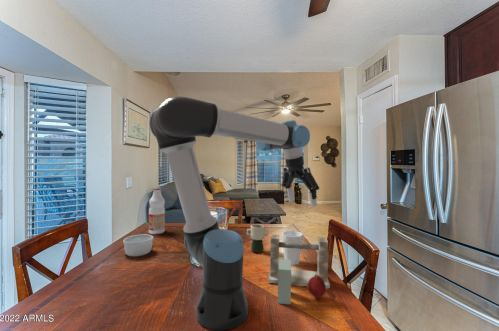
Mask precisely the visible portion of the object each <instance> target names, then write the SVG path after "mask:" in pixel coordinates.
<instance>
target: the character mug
mask: <svg viewBox="0 0 499 331" xmlns="http://www.w3.org/2000/svg"><path fill="white" fill-rule="evenodd" d="M249 232H250V233H249ZM246 235H247V236H250V239H252V241H251V247H250V250H251V251H252V252H253V253H262V252H264V250H265V249H264V241H263V240H264V239H265V237H269V229H266V227H265V224H260V223H253V224H251V225H250V228H247V229H246Z"/></svg>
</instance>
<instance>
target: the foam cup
mask: <svg viewBox="0 0 499 331" xmlns="http://www.w3.org/2000/svg"><path fill="white" fill-rule="evenodd" d="M281 240H282V241H281V242H287V243H301V244H303V241H304V234H303V233H302V232H301V231H298V230H284V231H282V232H281ZM301 250H302V249H295V248H283V258H284V260H291V266H296V265H295V264H297V265H299V264H298V263H300V258H301V253H302V252H301Z"/></svg>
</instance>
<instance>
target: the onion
mask: <svg viewBox="0 0 499 331" xmlns="http://www.w3.org/2000/svg"><path fill="white" fill-rule="evenodd" d="M307 290H308V292H309V293H310V294H311V295H312V296H313V297H314V299H319V298H321V297H323V296H324V295H325V293H326V290H327V289H326V285H325V283H324V281H323V280H322V278H320V277H319V276H318V275H317V274H315V276H314V277H312V278H311V279H310V280H309V282H308V287H307Z"/></svg>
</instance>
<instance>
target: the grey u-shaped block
mask: <svg viewBox="0 0 499 331" xmlns="http://www.w3.org/2000/svg"><path fill="white" fill-rule="evenodd" d="M291 269H292V265H291V260H284V259H282V258H281V259H280V258H279V268H278V284H277V304H281V305H289V304H290V305H291V303H292V302H291V300H292V299H291V298H292V296H291V294H292V286H291Z"/></svg>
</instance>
